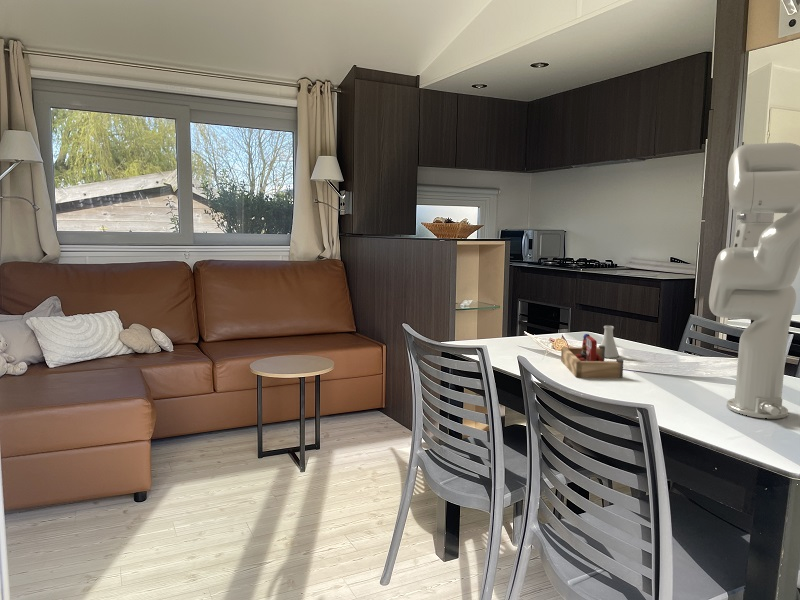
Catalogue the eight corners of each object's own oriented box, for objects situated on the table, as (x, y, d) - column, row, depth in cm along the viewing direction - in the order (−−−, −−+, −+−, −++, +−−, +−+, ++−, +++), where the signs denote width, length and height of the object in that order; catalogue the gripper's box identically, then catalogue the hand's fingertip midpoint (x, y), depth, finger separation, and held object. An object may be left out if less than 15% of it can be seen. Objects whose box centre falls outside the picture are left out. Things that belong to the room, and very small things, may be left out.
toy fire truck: (595, 363, 184) (597, 331, 183) (605, 374, 172) (607, 340, 171) (573, 363, 185) (574, 331, 183) (581, 374, 173) (582, 339, 171)
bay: (622, 377, 168) (623, 360, 168) (576, 377, 169) (576, 359, 168) (602, 361, 187) (603, 345, 186) (561, 360, 188) (561, 345, 187)
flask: (596, 357, 192) (597, 328, 190) (595, 352, 199) (597, 324, 197) (619, 359, 190) (621, 329, 188) (618, 354, 197) (619, 325, 195)
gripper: (736, 219, 154) (730, 287, 157) (794, 219, 154) (787, 288, 156) (722, 218, 162) (717, 284, 164) (777, 218, 161) (771, 284, 164)
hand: (751, 286), depth 160 cm, fingers closed
